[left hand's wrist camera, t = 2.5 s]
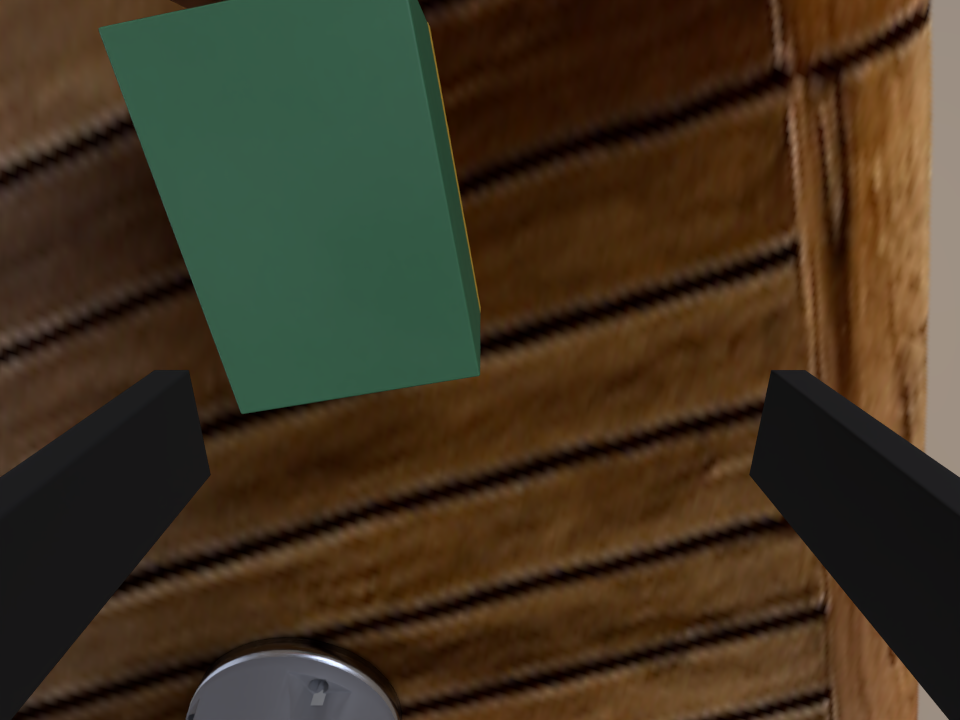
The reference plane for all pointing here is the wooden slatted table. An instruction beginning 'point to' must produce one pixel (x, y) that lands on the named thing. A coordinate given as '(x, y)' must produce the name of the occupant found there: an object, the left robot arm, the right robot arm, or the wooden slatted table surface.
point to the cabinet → (308, 191)
